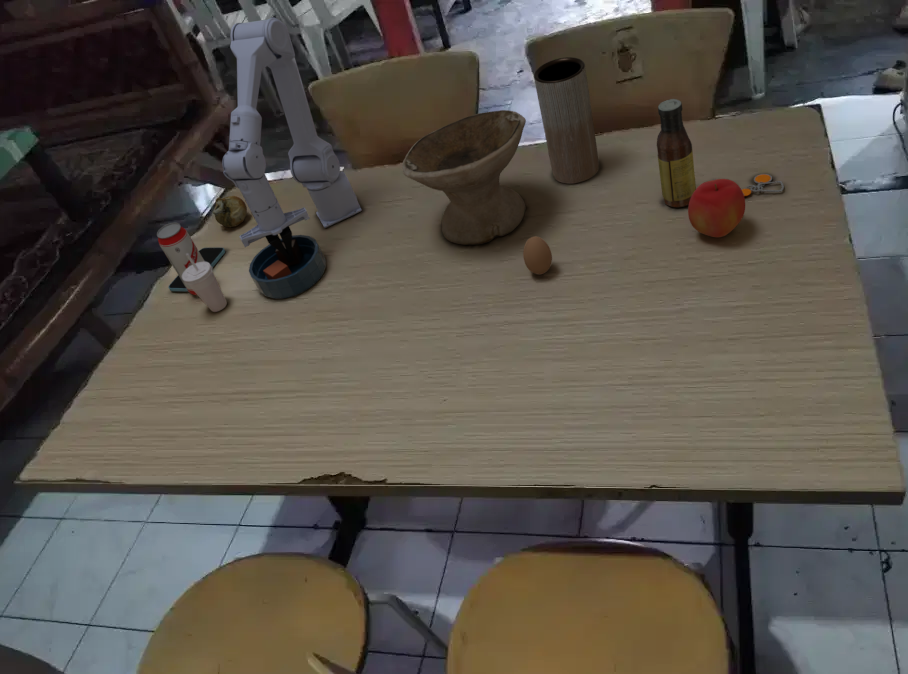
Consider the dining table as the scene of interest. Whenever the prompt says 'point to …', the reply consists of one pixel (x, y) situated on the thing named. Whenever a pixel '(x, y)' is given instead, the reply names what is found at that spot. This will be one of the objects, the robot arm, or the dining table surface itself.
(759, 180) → the key chain
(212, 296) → the smoothie
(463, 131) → the bowl
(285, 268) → the terracotta block
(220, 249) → the smartphone
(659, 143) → the sauce bottle
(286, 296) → the teal bowl
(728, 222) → the apple
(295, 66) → the robot arm
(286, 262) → the walnut block
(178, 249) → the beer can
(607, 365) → the dining table surface
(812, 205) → the dining table surface
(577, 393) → the dining table surface
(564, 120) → the planter
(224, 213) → the onion
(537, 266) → the egg
